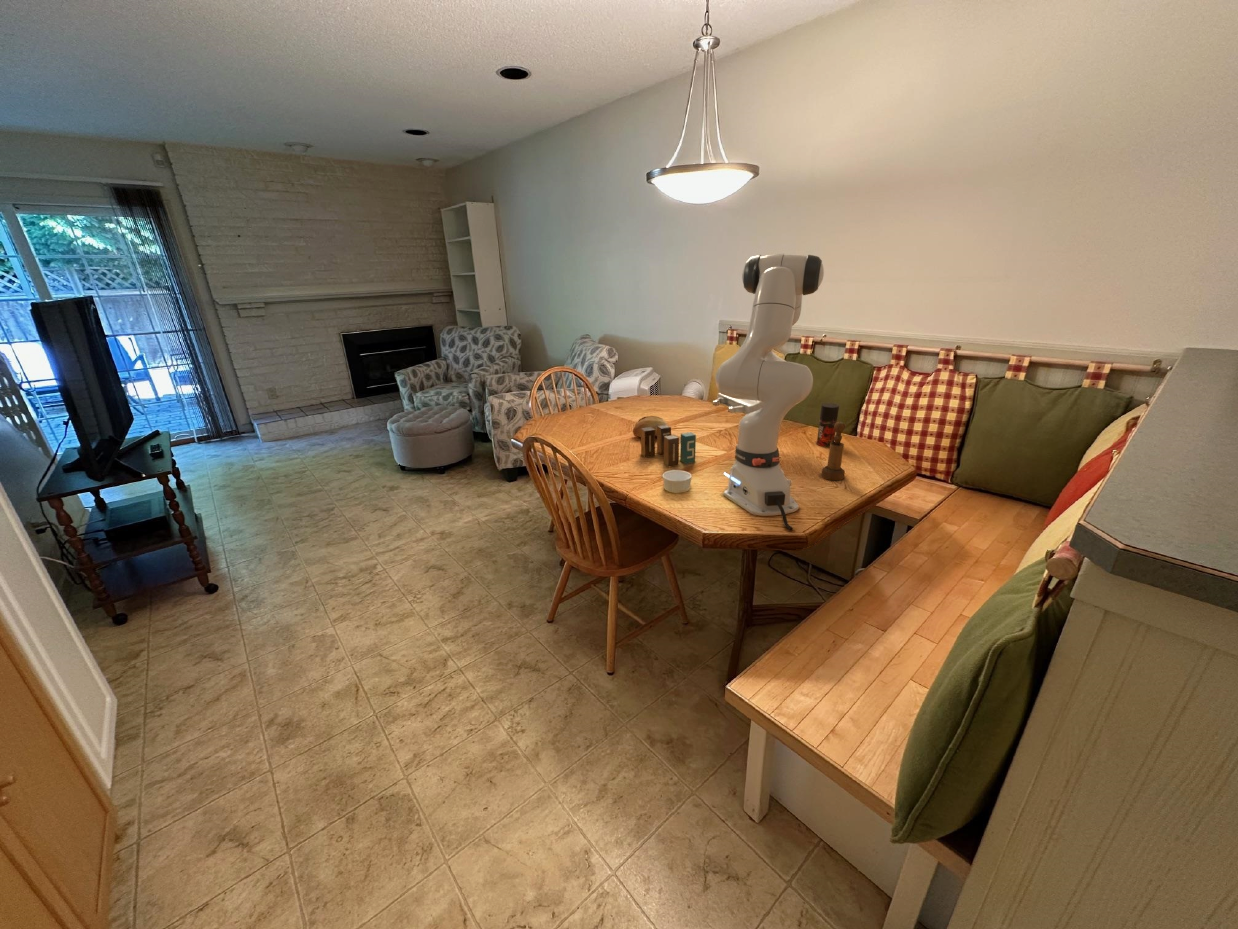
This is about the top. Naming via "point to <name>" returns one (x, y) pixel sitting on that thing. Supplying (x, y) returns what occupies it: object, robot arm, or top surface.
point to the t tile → (662, 437)
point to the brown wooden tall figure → (835, 456)
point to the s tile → (688, 447)
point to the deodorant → (827, 424)
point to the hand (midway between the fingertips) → (721, 406)
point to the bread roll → (648, 424)
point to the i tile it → (647, 442)
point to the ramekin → (677, 481)
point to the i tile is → (671, 450)
